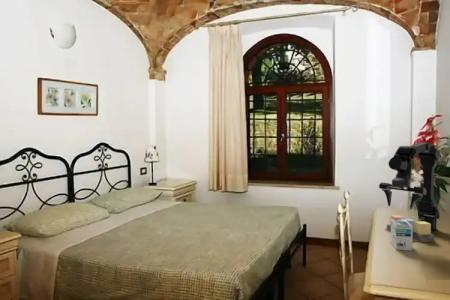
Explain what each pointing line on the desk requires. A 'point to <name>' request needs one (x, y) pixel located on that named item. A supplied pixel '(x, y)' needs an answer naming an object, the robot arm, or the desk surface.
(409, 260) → the desk surface
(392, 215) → the peach cube
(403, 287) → the desk surface
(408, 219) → the pale blue cube
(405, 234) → the light bulb box
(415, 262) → the desk surface
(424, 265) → the desk surface
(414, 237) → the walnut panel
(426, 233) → the yellow cube
